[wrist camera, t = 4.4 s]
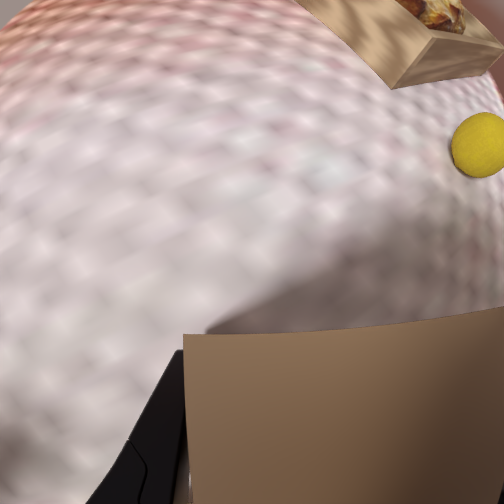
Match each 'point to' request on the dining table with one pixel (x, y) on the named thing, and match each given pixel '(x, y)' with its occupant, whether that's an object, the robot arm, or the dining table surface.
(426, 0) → the bread
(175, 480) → the robot arm
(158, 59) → the dining table surface
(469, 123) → the lemon
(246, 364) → the tan rectangular bar
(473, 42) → the bread crate
